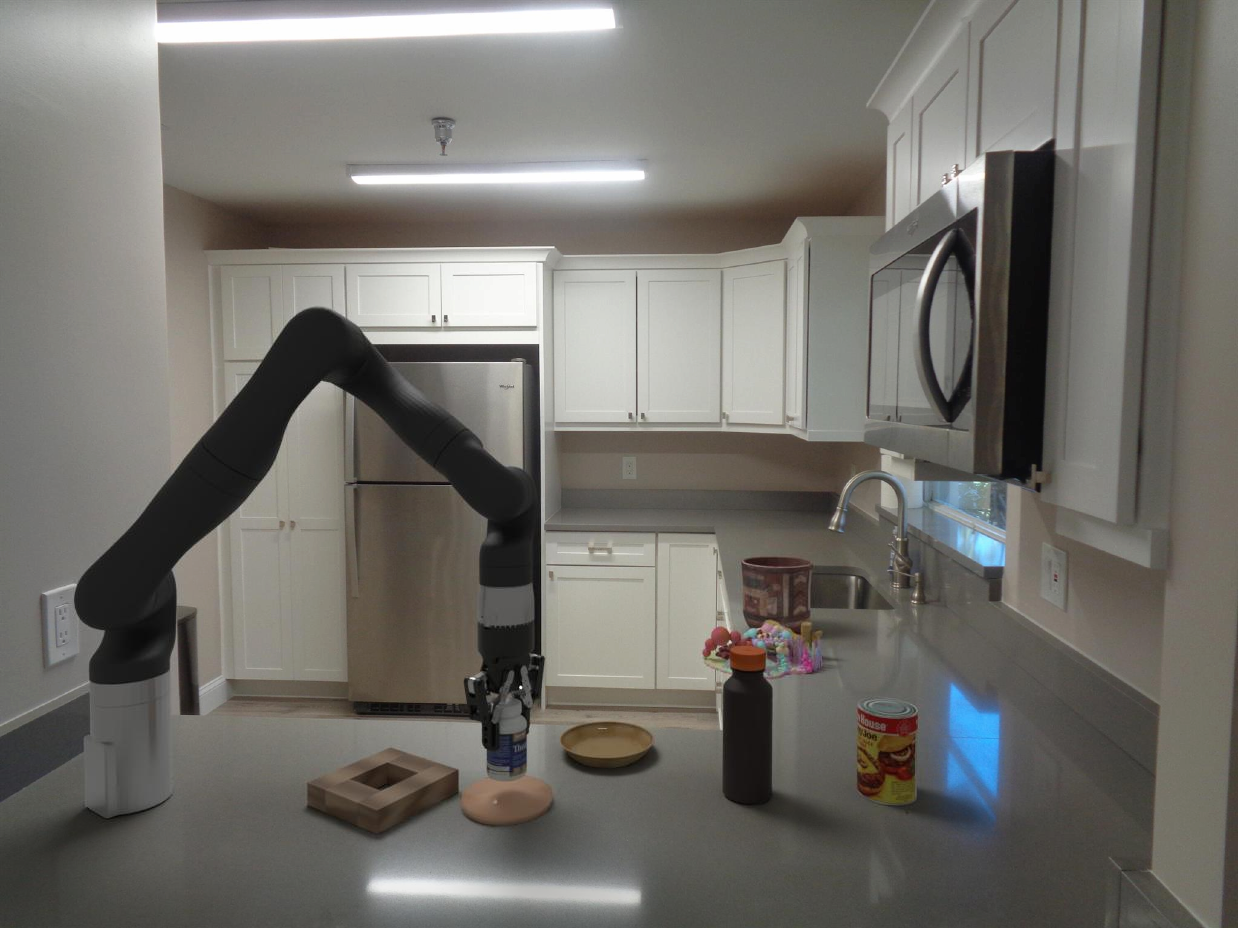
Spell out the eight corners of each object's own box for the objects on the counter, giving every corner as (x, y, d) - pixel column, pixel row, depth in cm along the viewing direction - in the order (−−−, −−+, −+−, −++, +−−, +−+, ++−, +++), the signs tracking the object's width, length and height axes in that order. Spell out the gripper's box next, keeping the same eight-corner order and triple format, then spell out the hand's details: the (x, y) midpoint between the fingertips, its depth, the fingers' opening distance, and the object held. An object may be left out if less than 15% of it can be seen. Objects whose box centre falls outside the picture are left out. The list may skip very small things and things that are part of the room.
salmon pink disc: (511, 834, 95) (511, 824, 95) (442, 808, 102) (442, 799, 102) (569, 796, 105) (569, 787, 105) (503, 775, 112) (503, 767, 112)
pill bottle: (519, 784, 100) (519, 710, 100) (480, 780, 101) (480, 707, 101) (532, 767, 106) (532, 697, 105) (495, 763, 107) (494, 694, 106)
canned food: (848, 780, 110) (848, 697, 110) (901, 778, 111) (902, 696, 110) (870, 806, 102) (871, 717, 102) (927, 804, 103) (928, 715, 103)
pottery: (797, 644, 183) (798, 569, 182) (730, 634, 192) (730, 562, 192) (821, 629, 197) (822, 559, 197) (757, 620, 207) (758, 553, 206)
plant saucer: (542, 765, 116) (542, 748, 116) (582, 730, 130) (582, 715, 129) (634, 781, 110) (634, 763, 110) (666, 743, 124) (666, 727, 124)
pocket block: (377, 834, 95) (377, 810, 95) (307, 804, 103) (307, 782, 103) (458, 790, 107) (458, 769, 107) (390, 767, 115) (390, 747, 114)
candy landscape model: (742, 642, 185) (742, 604, 185) (838, 659, 172) (838, 618, 171) (689, 668, 165) (689, 625, 165) (792, 689, 151) (792, 642, 151)
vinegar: (775, 786, 108) (776, 645, 108) (768, 808, 102) (769, 659, 101) (727, 779, 110) (728, 641, 110) (717, 800, 104) (718, 654, 103)
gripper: (519, 603, 111) (519, 719, 111) (446, 623, 99) (447, 753, 99) (561, 609, 107) (561, 730, 107) (490, 631, 95) (490, 767, 95)
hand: (506, 740), depth 103 cm, fingers closed on pill bottle, 5 cm apart
